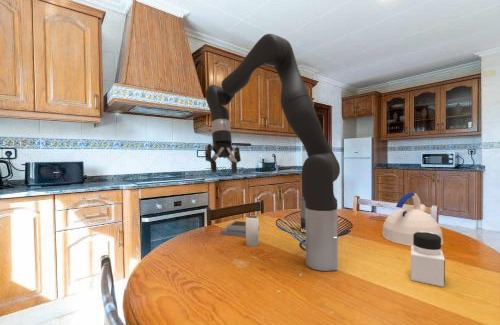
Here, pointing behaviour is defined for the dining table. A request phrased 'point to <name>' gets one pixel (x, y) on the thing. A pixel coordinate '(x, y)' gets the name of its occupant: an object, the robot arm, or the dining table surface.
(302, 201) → the milk frother
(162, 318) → the dining table surface
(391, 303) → the dining table surface
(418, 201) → the kettle
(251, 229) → the pale grey canister
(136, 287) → the dining table surface
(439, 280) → the medicine bottle
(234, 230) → the hub plate
